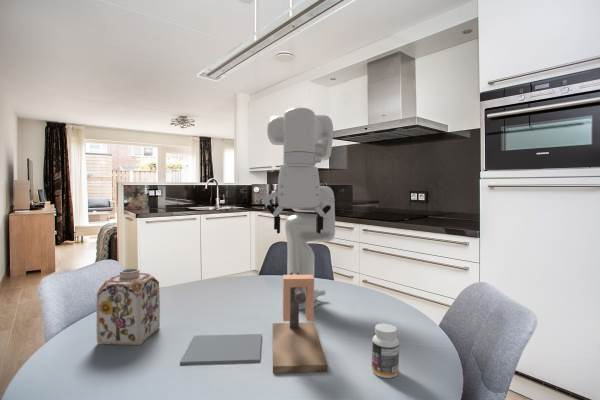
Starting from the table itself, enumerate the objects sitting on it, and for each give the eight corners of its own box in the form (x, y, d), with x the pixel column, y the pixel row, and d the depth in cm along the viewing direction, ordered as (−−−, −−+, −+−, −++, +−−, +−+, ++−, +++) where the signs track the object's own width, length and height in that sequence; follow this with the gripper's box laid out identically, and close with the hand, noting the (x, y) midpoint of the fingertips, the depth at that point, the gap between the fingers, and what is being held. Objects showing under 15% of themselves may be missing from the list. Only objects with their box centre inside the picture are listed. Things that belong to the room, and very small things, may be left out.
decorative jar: (121, 326, 97) (121, 264, 97) (160, 327, 97) (160, 265, 96) (94, 345, 85) (94, 275, 85) (139, 346, 85) (139, 275, 84)
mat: (261, 336, 92) (261, 333, 92) (259, 362, 78) (259, 359, 78) (194, 337, 90) (194, 335, 90) (179, 364, 76) (179, 362, 76)
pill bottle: (368, 365, 76) (369, 322, 76) (393, 365, 77) (393, 322, 77) (376, 379, 71) (377, 333, 70) (402, 378, 71) (403, 332, 71)
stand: (313, 327, 98) (314, 268, 97) (327, 371, 74) (328, 293, 73) (272, 328, 97) (273, 268, 96) (272, 373, 73) (273, 294, 72)
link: (311, 314, 83) (312, 274, 83) (313, 320, 79) (314, 278, 79) (282, 315, 83) (283, 274, 83) (283, 321, 79) (283, 279, 79)
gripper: (332, 163, 85) (331, 231, 85) (263, 162, 83) (262, 231, 83) (337, 160, 77) (337, 234, 77) (262, 159, 76) (261, 234, 76)
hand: (298, 232), depth 80 cm, fingers open, 9 cm apart
